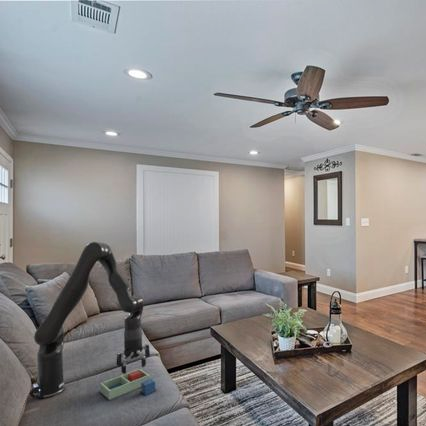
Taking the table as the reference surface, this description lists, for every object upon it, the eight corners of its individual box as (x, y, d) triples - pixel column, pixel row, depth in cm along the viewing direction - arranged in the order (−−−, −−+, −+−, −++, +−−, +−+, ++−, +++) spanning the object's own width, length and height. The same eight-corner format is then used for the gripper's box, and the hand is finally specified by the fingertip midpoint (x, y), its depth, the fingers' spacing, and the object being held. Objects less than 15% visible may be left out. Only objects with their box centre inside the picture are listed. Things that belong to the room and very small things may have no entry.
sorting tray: (109, 400, 145) (109, 391, 145) (100, 391, 152) (99, 383, 152) (149, 383, 159) (149, 375, 159) (139, 376, 166) (139, 368, 166)
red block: (131, 385, 156) (131, 376, 156) (128, 382, 159) (127, 373, 159) (141, 381, 159) (141, 372, 159) (137, 378, 162) (137, 370, 162)
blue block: (145, 395, 148) (145, 385, 148) (141, 391, 151) (141, 382, 151) (155, 390, 152) (155, 381, 152) (151, 387, 155) (150, 378, 155)
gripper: (145, 331, 167) (145, 362, 167) (113, 339, 156) (114, 373, 155) (151, 334, 162) (152, 366, 162) (119, 343, 151) (120, 378, 151)
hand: (133, 369), depth 159 cm, fingers open, 8 cm apart
